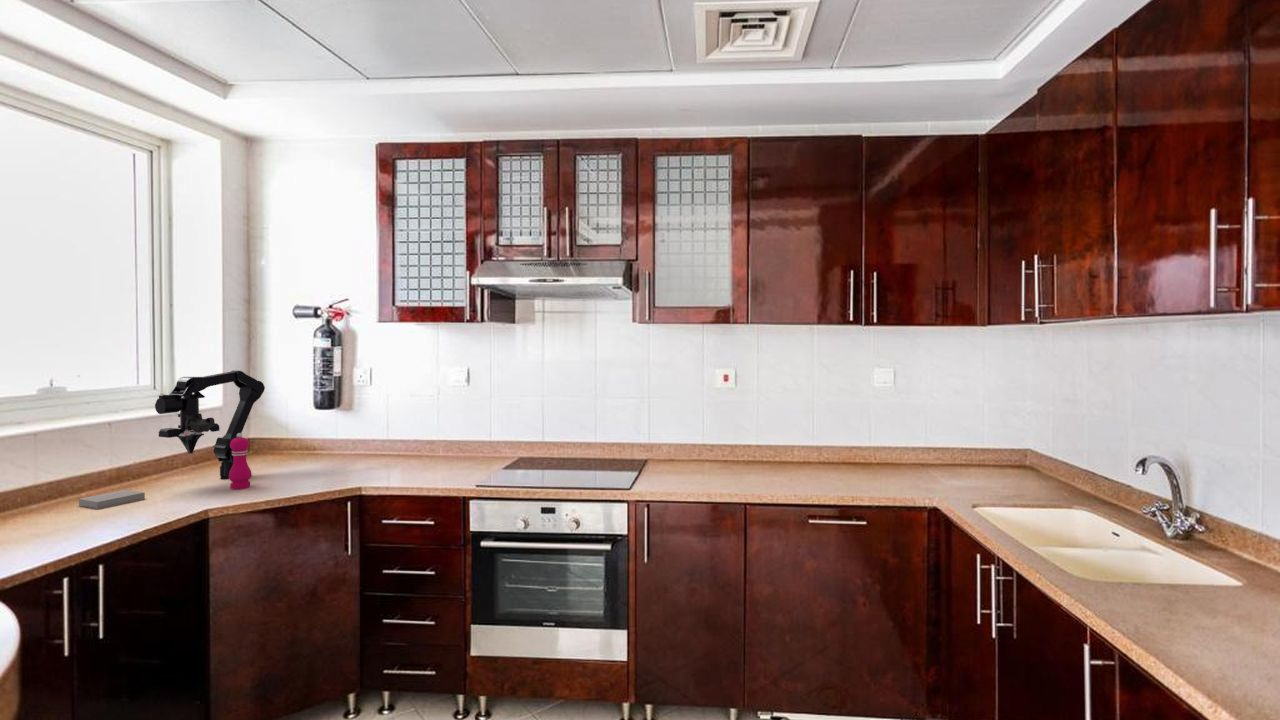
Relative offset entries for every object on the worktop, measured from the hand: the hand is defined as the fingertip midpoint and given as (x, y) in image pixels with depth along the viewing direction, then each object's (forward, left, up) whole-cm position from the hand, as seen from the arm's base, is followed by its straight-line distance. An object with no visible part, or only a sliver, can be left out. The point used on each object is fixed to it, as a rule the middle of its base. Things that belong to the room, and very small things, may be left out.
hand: (190, 453), depth 242 cm
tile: (+12, +14, -11) cm, 22 cm away
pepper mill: (-18, +8, -12) cm, 23 cm away
